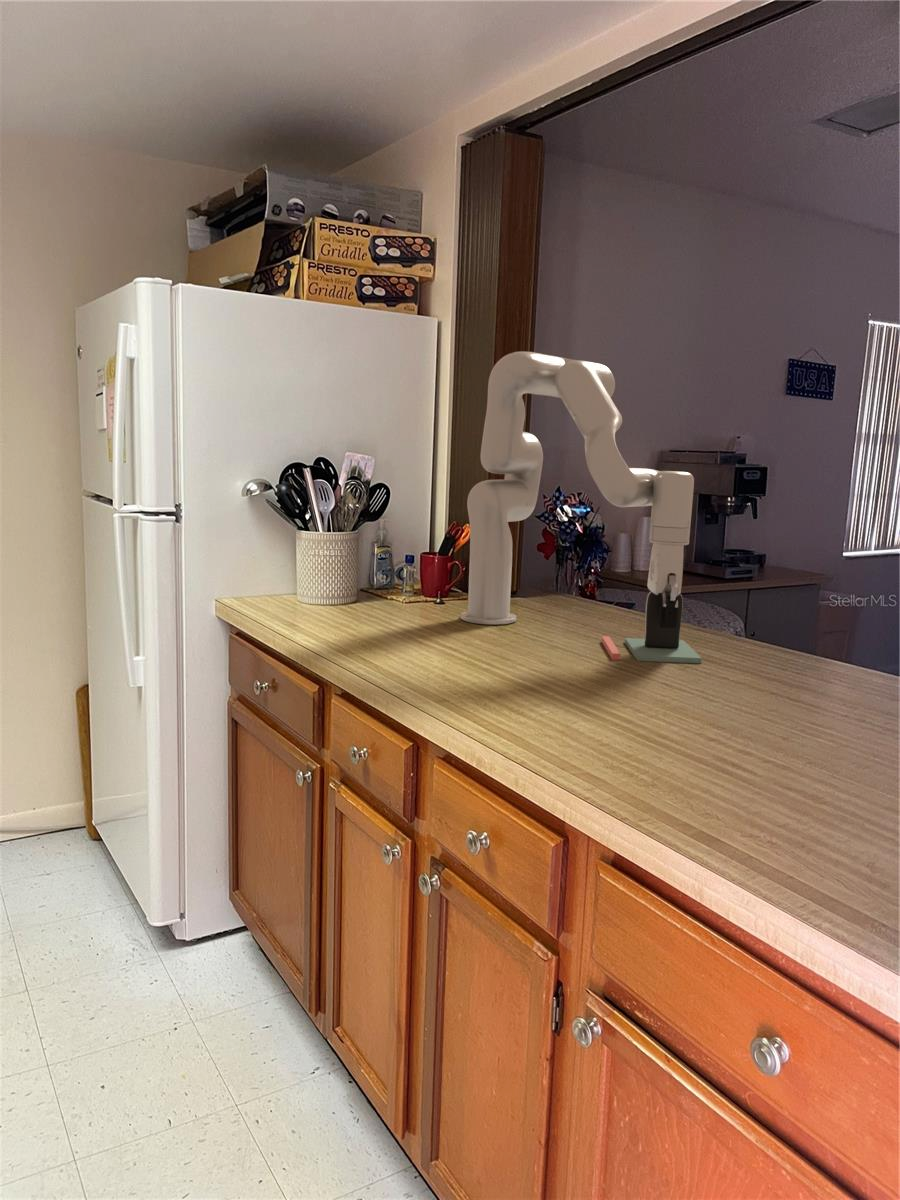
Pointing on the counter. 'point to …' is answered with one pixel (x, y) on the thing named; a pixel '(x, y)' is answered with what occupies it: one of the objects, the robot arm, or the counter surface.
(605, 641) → the bar
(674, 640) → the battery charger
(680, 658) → the mat
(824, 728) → the counter surface
